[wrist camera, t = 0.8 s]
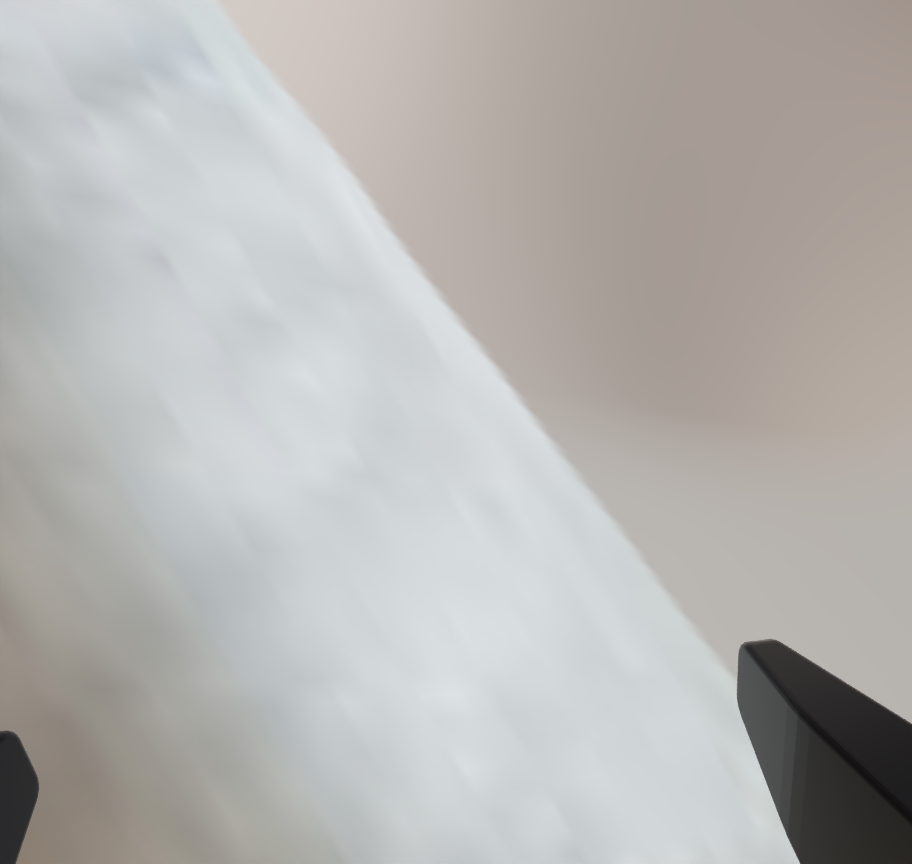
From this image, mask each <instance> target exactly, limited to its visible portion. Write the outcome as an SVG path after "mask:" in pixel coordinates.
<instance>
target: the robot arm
mask: <svg viewBox="0 0 912 864" xmlns="http://www.w3.org/2000/svg"><path fill="white" fill-rule="evenodd" d="M737 701H738V707H739V710H740V714H741V717H742V719H743V722H744V725H745V727H746V730H747V733H748V735H749V738H750V740H751V743H752V746H753V748H754V751H755V754H756V756H757V759H758V762H759V764H760V767H761V769H762V772H763V775H764V777H765V780H766V783H767V785H768V788H769V791H770V793H771V796H772V798H773V801H774V804H775V806H776V809H777V812H778V814H779V817H780V819H781V822H782V824H783V827H784V829H785V832H786V834H787V837H788V839H789V841H790V843H791V845H792V847H793V849H794V851H795V854H796V856H797V858H798V860H799V862H800V864H912V724H911V723H910V722H908V721H906V720H905V719H903V718H902V717H900V716H898V715H897V714H895V713H894V712H892V711H890V710H889V709H887V708H885V707H884V706H882V705H881V704H879V703H877V702H875V701H874V700H873V699H871V698H870V697H868V696H866V695H865V694H863V693H861V692H860V691H858V690H857V689H855V688H853V687H852V686H850V685H849V684H847V683H845V682H844V681H842V680H841V679H839V678H837V677H836V676H834V675H832V674H831V673H829V672H828V671H826V670H825V669H823V668H821V667H820V666H818V665H816V664H815V663H813V662H812V661H810V660H808V659H807V658H805V657H804V656H802V655H800V654H799V653H797V652H796V651H794V650H792V649H791V648H789V647H788V646H786V645H784V644H783V643H781V642H779V641H777V640H773V639H768V640H759V641H751V642H745V643H744V644H742V645H741V647H740V649H739V656H738V679H737ZM38 791H39V783H38V777H37V774H36V772H35V770H34V768H33V766H32V764H31V762H30V759H29V757H28V755H27V753H26V751H25V749H24V747H23V745H22V742H21V740H20V738H19V737H18V735H16V734H15V733H14V732H12V731H0V864H16V861H17V858H18V855H19V852H20V849H21V846H22V843H23V840H24V837H25V834H26V831H27V828H28V825H29V822H30V819H31V816H32V813H33V810H34V807H35V804H36V801H37V797H38Z"/></svg>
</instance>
